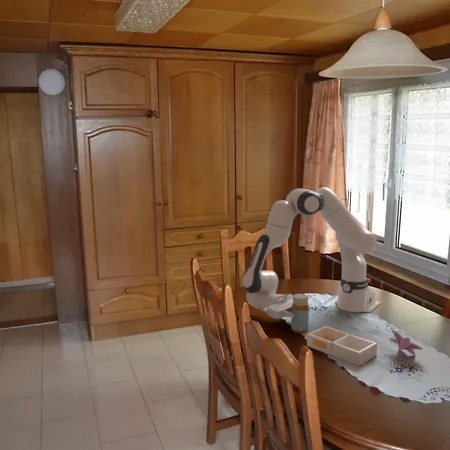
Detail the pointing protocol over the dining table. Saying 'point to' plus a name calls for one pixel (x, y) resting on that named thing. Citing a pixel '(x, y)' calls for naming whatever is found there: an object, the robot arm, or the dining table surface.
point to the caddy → (342, 345)
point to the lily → (404, 343)
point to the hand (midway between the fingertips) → (301, 312)
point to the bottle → (300, 313)
